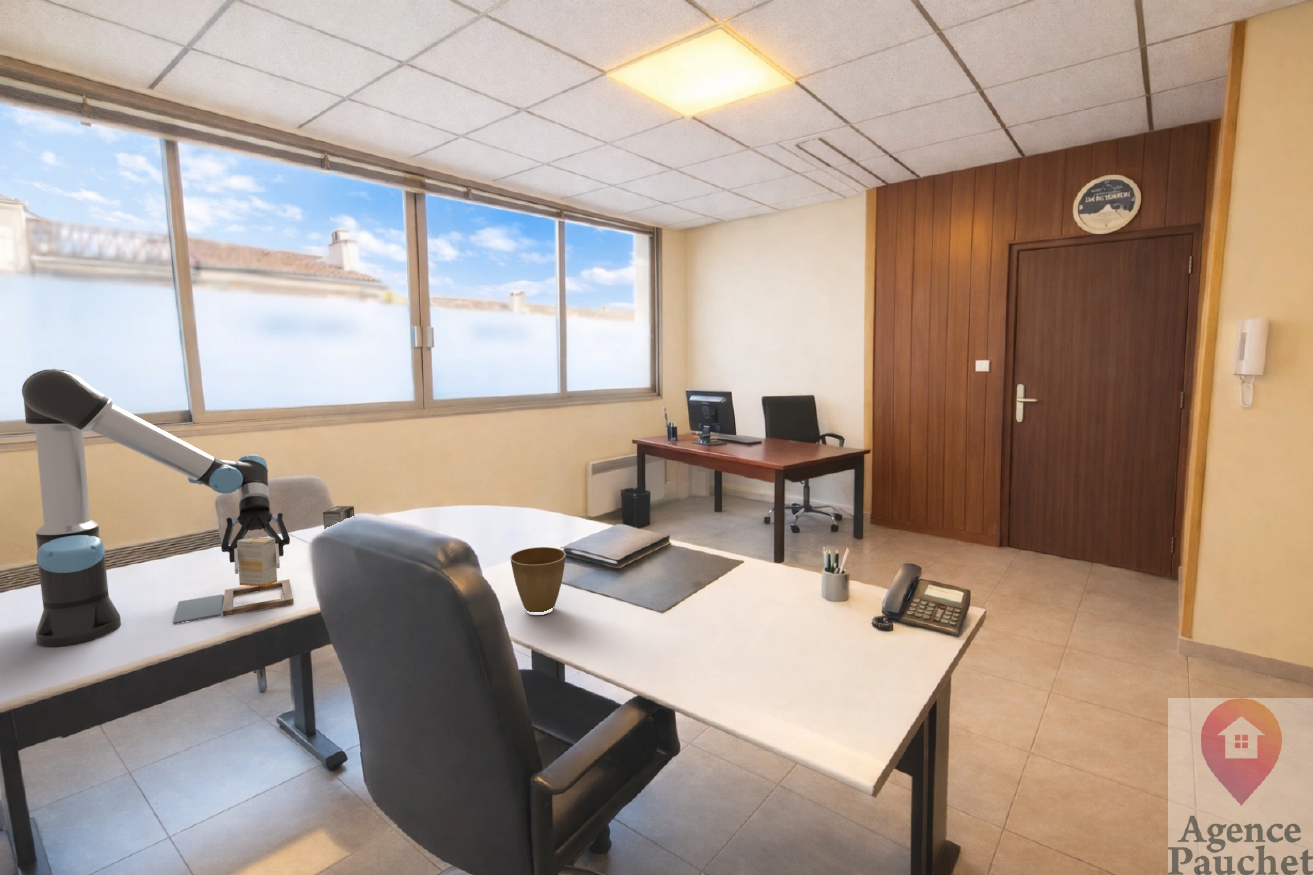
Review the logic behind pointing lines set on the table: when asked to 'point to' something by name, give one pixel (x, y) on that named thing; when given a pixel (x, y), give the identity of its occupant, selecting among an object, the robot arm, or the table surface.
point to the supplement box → (257, 561)
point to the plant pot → (538, 576)
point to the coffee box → (337, 515)
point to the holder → (287, 600)
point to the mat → (198, 609)
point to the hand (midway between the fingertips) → (257, 568)
